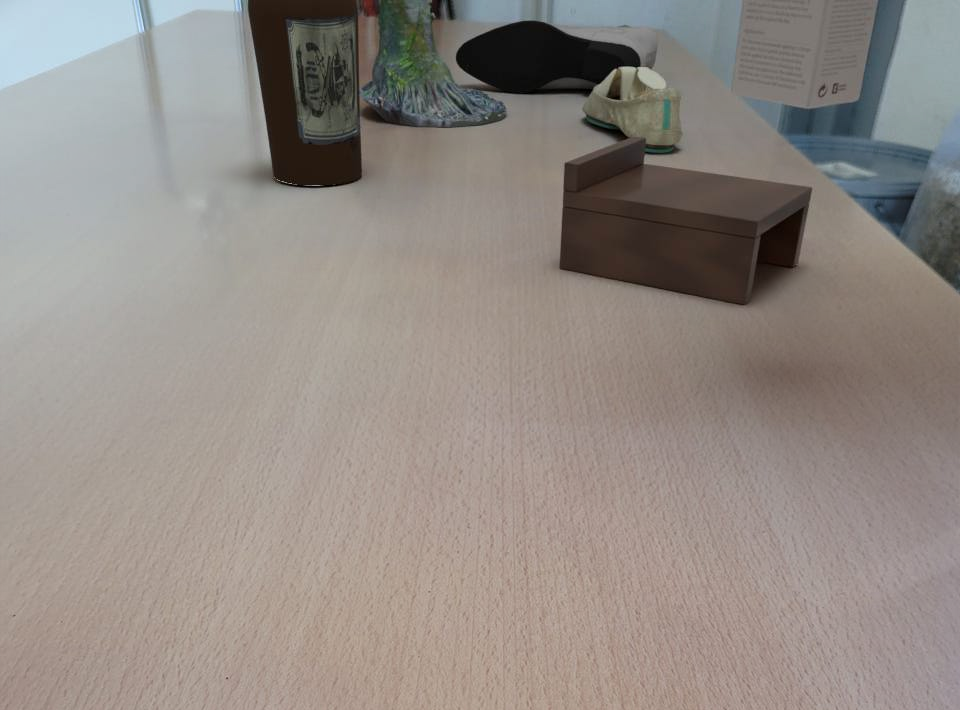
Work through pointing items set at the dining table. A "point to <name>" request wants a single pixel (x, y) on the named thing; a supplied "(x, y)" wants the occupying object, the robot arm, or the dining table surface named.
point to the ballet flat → (637, 107)
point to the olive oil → (309, 87)
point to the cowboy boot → (554, 55)
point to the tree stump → (420, 74)
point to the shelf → (676, 223)
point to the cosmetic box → (803, 51)
